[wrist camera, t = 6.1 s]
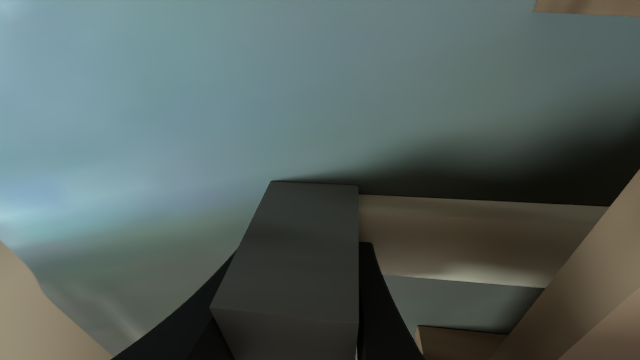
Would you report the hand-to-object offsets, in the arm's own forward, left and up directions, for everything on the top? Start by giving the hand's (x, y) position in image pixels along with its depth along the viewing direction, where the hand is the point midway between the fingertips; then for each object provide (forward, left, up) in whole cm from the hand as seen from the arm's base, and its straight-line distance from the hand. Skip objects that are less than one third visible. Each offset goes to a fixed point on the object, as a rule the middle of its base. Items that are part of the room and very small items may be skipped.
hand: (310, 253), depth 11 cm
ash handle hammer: (0, -7, -2) cm, 7 cm away
